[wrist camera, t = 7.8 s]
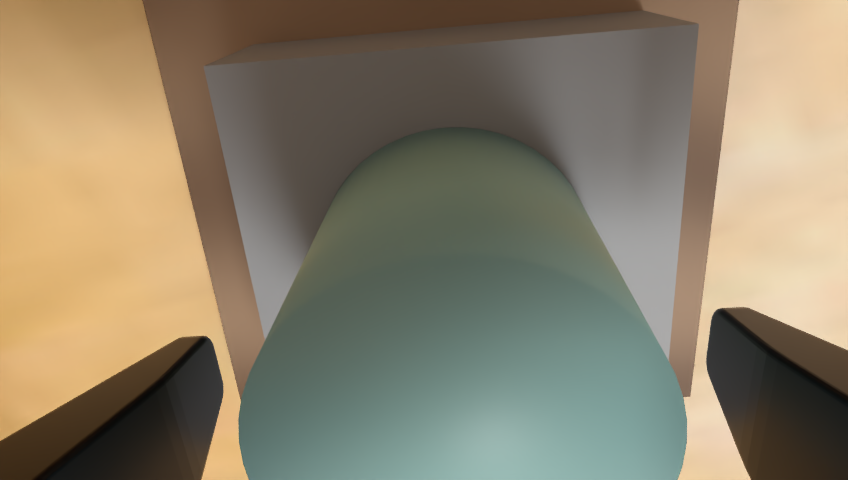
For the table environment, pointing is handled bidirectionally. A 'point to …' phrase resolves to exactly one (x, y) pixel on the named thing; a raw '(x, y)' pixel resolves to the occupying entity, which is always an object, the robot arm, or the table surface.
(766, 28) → the table surface
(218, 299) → the tower base slab
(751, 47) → the table surface
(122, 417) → the robot arm
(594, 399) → the teal round block
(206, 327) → the table surface
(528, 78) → the grey square block
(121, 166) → the table surface
